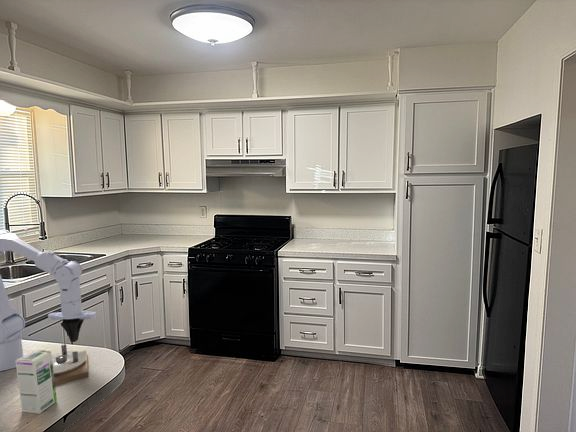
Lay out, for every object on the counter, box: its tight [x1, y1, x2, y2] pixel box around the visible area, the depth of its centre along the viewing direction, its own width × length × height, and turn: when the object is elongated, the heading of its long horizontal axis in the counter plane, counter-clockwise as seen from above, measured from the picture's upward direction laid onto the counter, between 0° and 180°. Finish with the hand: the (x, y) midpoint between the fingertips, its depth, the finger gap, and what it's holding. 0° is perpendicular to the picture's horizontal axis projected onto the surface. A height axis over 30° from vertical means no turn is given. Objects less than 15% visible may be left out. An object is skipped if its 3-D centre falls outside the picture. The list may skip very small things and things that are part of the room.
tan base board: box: [54, 349, 89, 386], centre depth 121 cm, size 17×14×2 cm
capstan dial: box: [52, 343, 85, 376], centre depth 121 cm, size 13×13×4 cm
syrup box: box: [15, 349, 58, 415], centre depth 101 cm, size 6×6×14 cm
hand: (74, 340), depth 125 cm, fingers closed
